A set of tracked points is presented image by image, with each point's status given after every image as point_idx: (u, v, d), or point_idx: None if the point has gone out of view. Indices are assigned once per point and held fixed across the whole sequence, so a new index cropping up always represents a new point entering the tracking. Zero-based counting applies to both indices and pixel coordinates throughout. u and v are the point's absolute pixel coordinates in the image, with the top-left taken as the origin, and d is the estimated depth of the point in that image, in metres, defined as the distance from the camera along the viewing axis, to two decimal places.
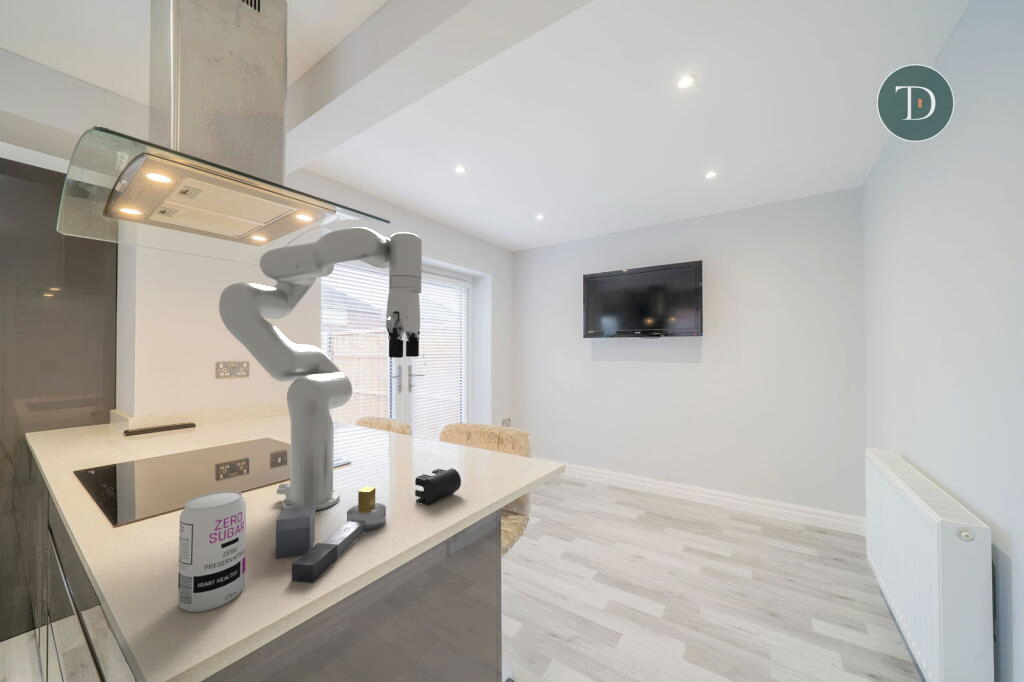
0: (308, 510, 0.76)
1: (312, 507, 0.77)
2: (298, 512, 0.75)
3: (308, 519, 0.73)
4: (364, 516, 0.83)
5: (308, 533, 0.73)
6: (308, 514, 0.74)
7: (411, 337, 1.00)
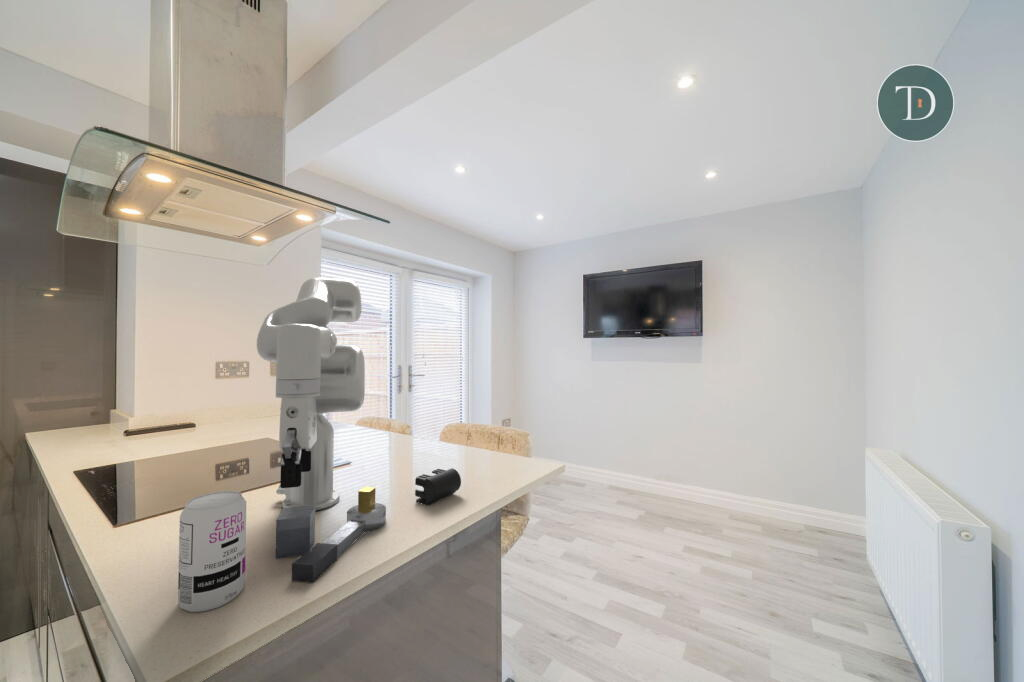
0: (308, 510, 0.76)
1: (312, 507, 0.77)
2: (298, 512, 0.75)
3: (308, 519, 0.73)
4: (364, 516, 0.83)
5: (308, 533, 0.73)
6: (308, 514, 0.74)
7: None
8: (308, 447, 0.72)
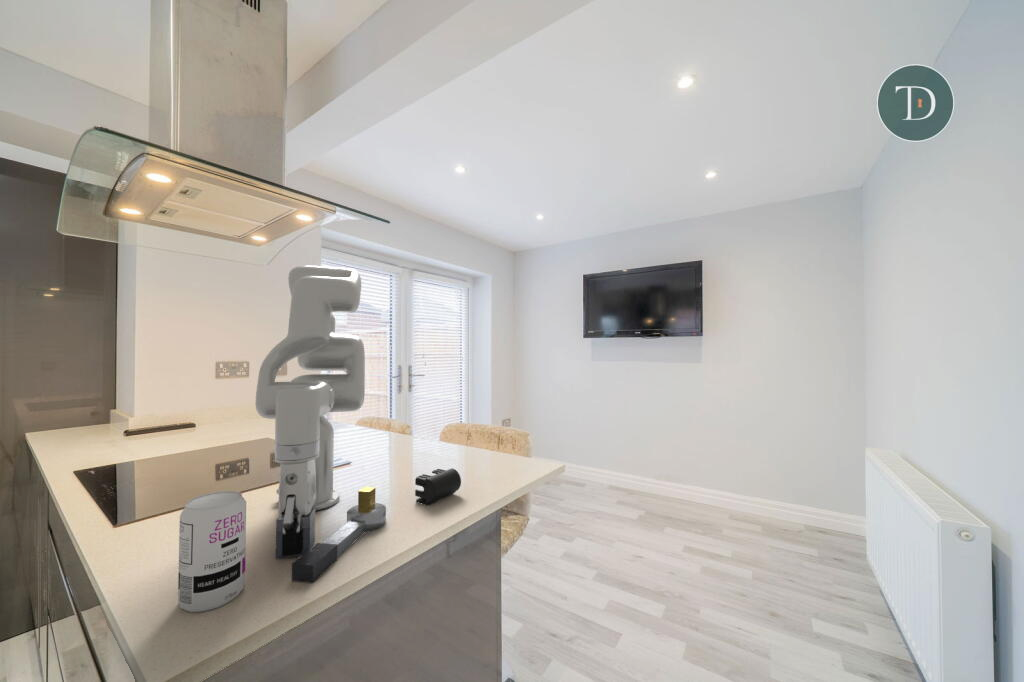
0: None
1: (312, 507, 0.77)
2: (298, 512, 0.75)
3: (308, 519, 0.73)
4: (364, 516, 0.83)
5: (308, 533, 0.73)
6: (308, 514, 0.74)
7: None
8: (307, 512, 0.72)
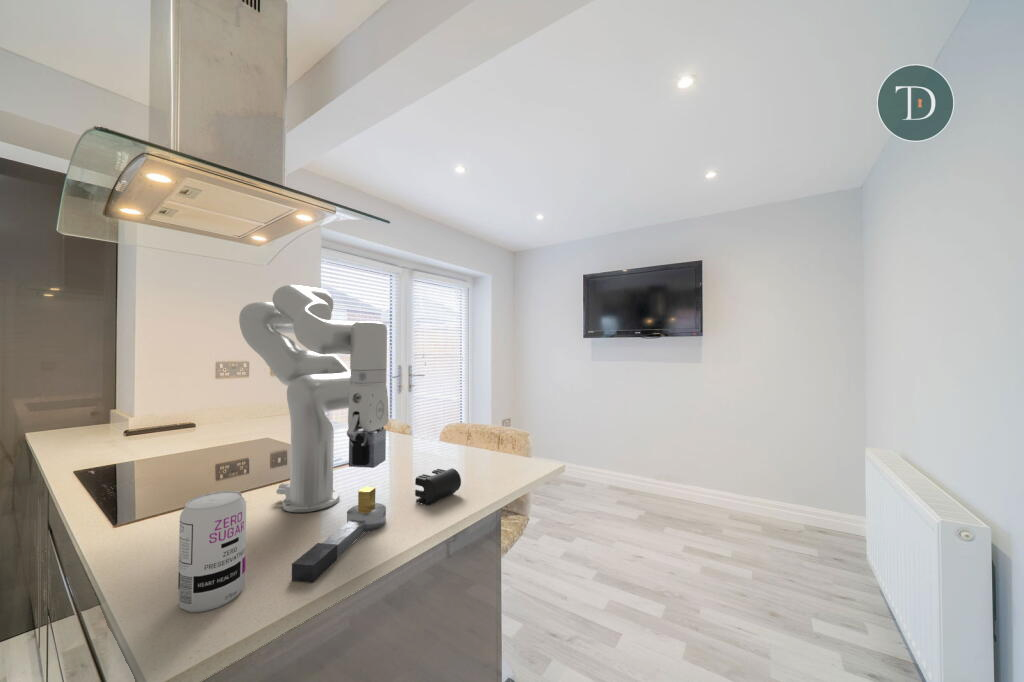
0: (377, 431, 0.86)
1: (382, 430, 0.88)
2: None
3: (372, 437, 0.83)
4: (364, 516, 0.83)
5: (372, 449, 0.83)
6: (374, 433, 0.84)
7: None
8: (369, 429, 0.82)
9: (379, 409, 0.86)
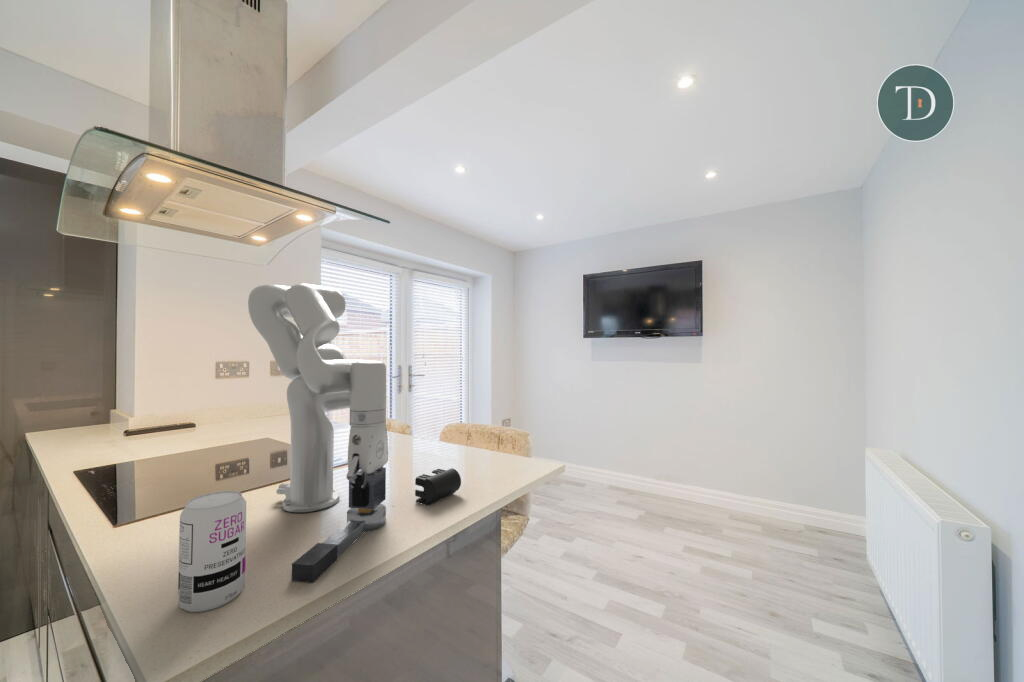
0: (377, 470, 0.86)
1: (381, 469, 0.87)
2: None
3: (372, 478, 0.83)
4: (364, 516, 0.83)
5: (372, 490, 0.83)
6: (374, 474, 0.84)
7: None
8: (369, 471, 0.82)
9: (379, 449, 0.86)
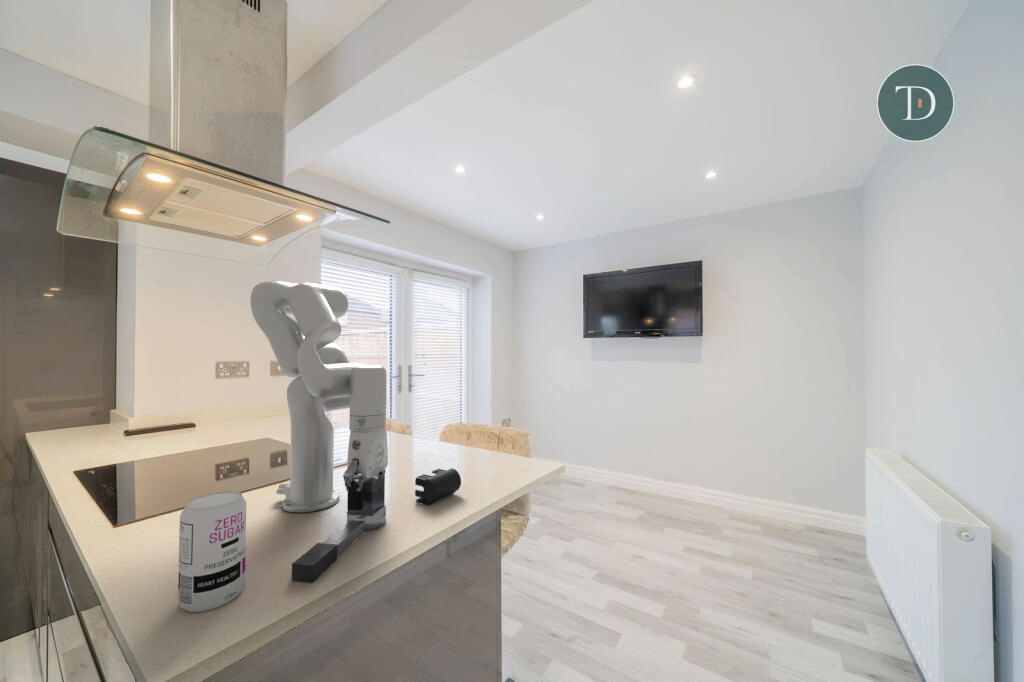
0: (376, 477, 0.86)
1: (380, 476, 0.87)
2: None
3: (371, 485, 0.83)
4: (364, 516, 0.83)
5: (371, 497, 0.83)
6: (373, 481, 0.84)
7: None
8: (369, 476, 0.82)
9: (378, 454, 0.86)
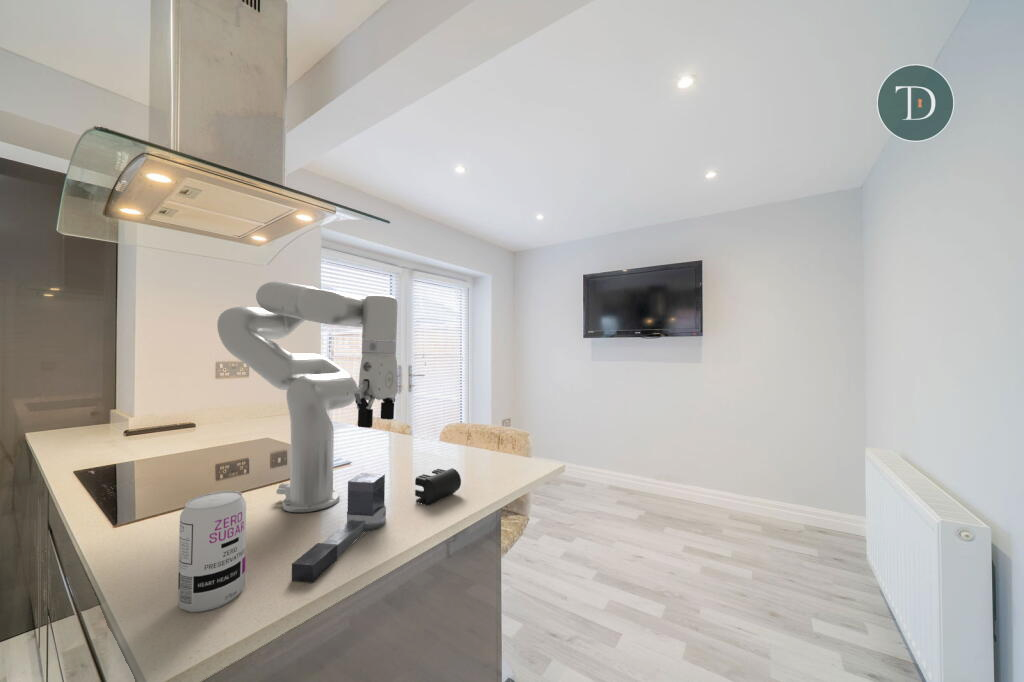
0: (376, 477, 0.86)
1: (380, 476, 0.87)
2: (368, 478, 0.86)
3: (371, 485, 0.83)
4: (364, 516, 0.83)
5: (371, 497, 0.83)
6: (373, 481, 0.84)
7: None
8: (378, 396, 0.86)
9: (388, 379, 0.90)
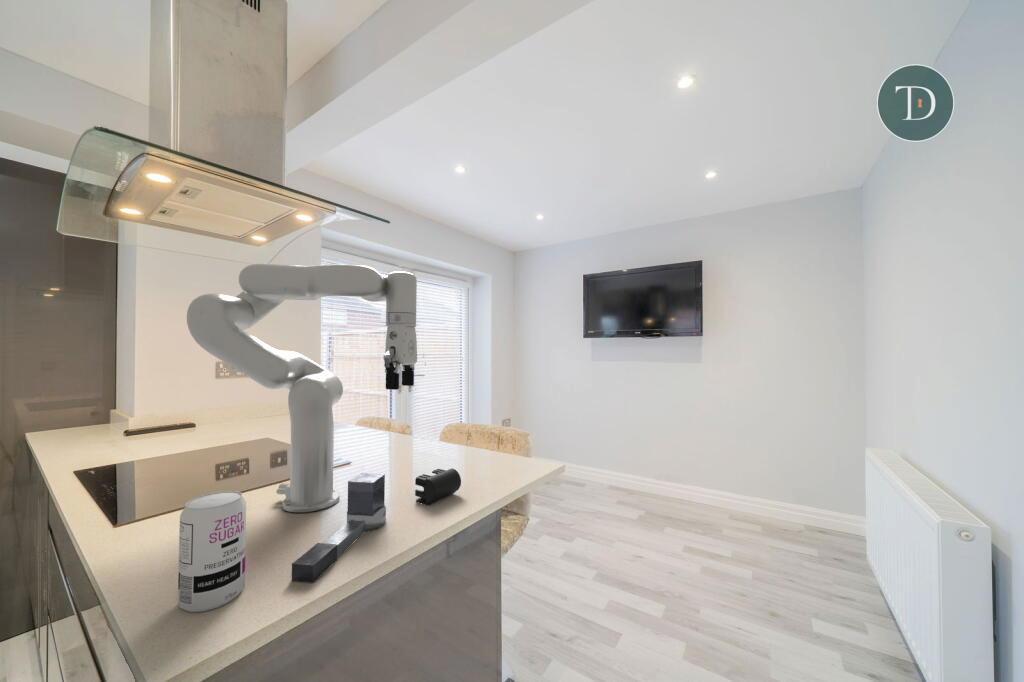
0: (376, 477, 0.86)
1: (380, 476, 0.87)
2: (368, 478, 0.86)
3: (371, 485, 0.83)
4: (364, 516, 0.83)
5: (371, 497, 0.83)
6: (373, 481, 0.84)
7: None
8: (403, 362, 0.97)
9: (410, 347, 1.01)
